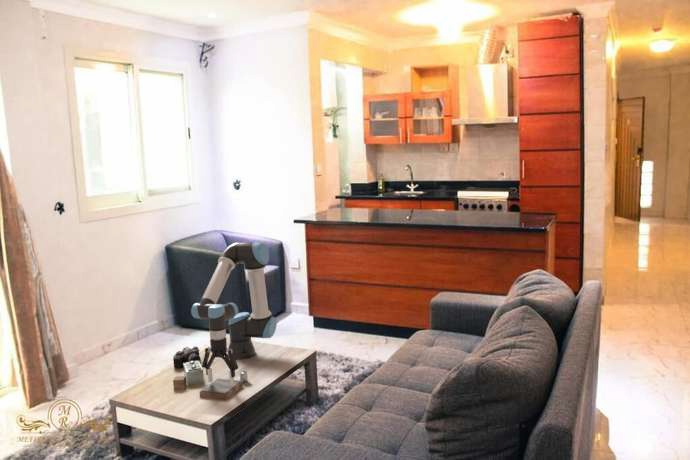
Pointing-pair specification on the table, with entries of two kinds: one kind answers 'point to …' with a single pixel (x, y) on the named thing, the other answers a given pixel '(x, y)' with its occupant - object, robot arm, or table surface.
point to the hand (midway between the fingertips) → (221, 382)
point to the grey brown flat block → (221, 389)
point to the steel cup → (243, 377)
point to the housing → (193, 372)
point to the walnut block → (179, 382)
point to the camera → (186, 356)
